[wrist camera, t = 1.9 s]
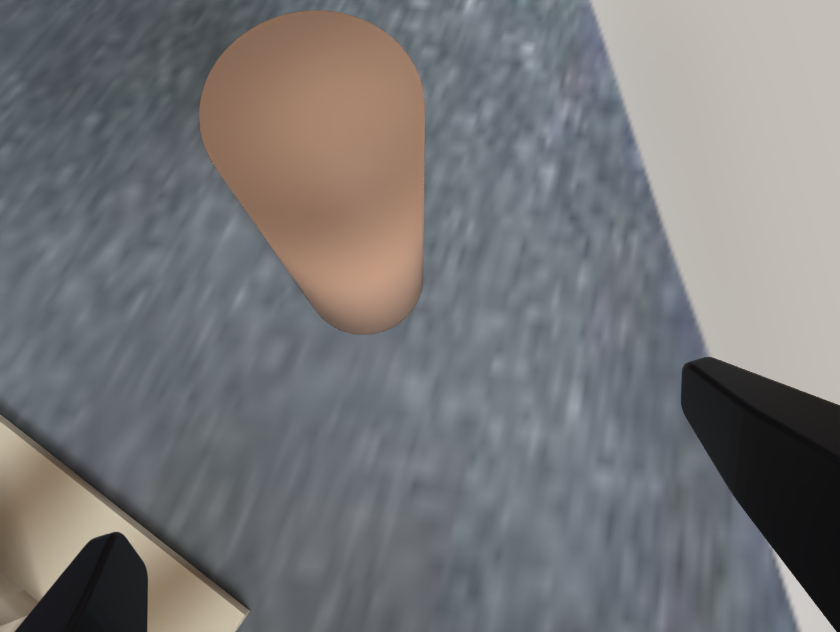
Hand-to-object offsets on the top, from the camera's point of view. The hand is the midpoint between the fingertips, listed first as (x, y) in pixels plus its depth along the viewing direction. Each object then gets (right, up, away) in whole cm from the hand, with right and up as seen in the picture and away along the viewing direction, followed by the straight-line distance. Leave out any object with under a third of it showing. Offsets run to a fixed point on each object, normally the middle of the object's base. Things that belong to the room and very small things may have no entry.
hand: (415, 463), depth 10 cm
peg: (-2, +4, +15) cm, 15 cm away
